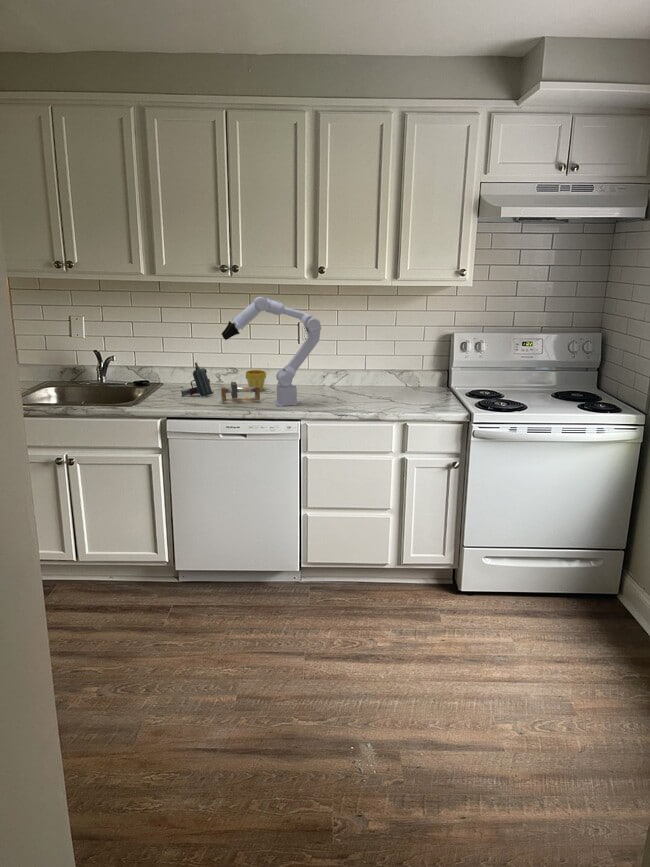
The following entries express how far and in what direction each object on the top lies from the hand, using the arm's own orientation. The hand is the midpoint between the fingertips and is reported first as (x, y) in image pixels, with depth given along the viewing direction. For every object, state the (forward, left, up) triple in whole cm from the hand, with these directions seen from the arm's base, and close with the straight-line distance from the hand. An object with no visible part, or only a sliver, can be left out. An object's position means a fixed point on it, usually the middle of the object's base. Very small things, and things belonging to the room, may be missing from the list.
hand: (223, 337), depth 288 cm
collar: (-5, -7, -29) cm, 31 cm away
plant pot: (-18, -30, -32) cm, 48 cm away
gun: (+12, -22, -33) cm, 41 cm away
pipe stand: (-8, -7, -32) cm, 34 cm away
